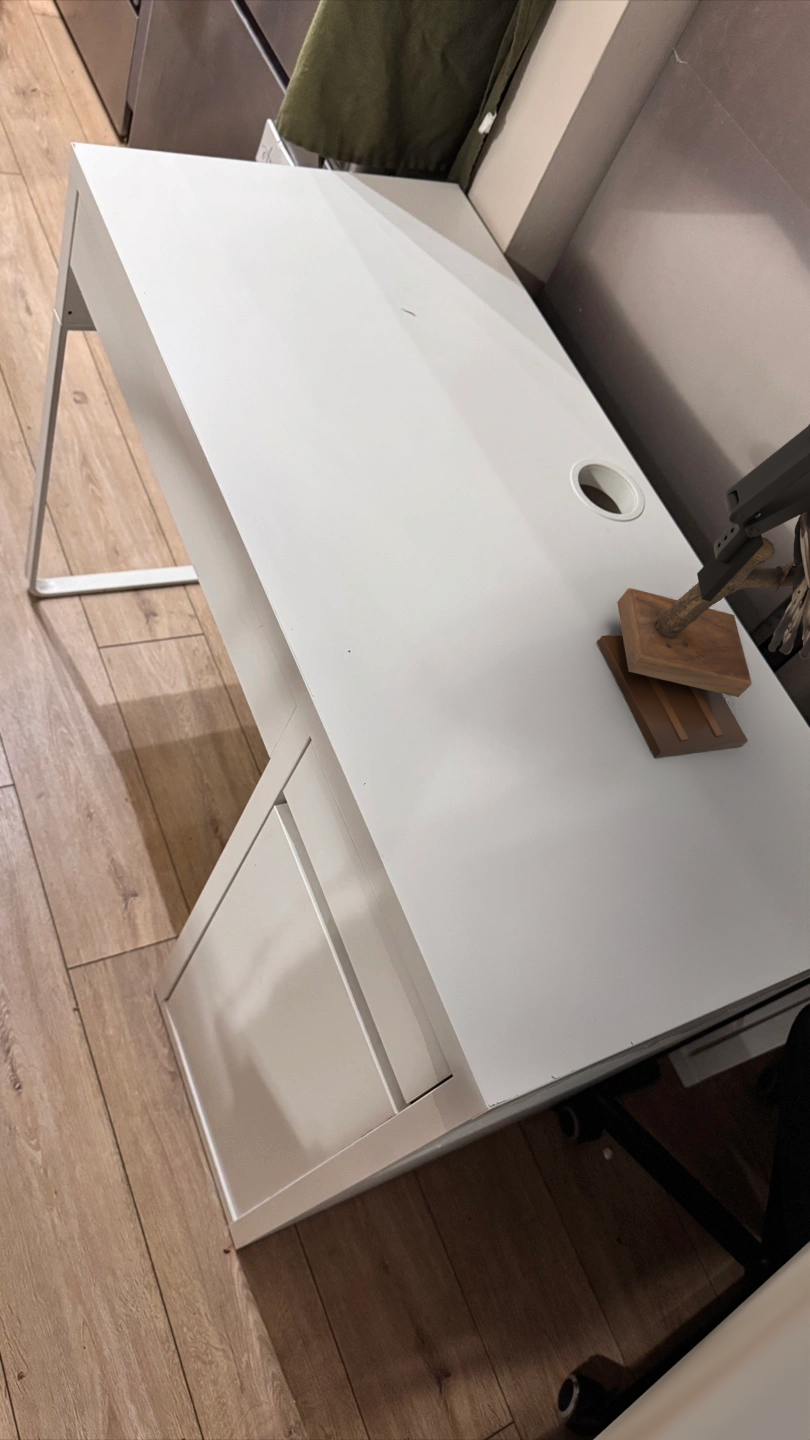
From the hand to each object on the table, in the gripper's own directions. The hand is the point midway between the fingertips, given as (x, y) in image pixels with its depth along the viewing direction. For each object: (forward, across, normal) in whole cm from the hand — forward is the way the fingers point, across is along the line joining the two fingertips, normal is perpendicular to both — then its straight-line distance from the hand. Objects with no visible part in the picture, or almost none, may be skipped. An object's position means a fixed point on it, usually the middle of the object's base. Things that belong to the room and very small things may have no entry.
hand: (757, 604), depth 79 cm
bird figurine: (+10, 0, 0) cm, 10 cm away
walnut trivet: (+13, 0, 0) cm, 13 cm away
